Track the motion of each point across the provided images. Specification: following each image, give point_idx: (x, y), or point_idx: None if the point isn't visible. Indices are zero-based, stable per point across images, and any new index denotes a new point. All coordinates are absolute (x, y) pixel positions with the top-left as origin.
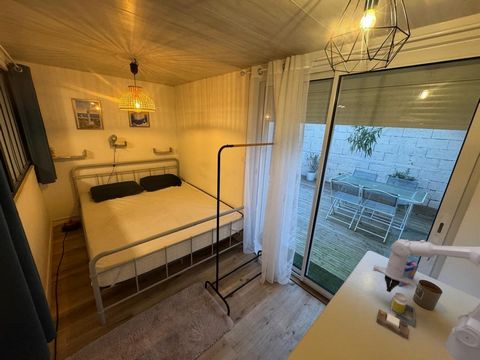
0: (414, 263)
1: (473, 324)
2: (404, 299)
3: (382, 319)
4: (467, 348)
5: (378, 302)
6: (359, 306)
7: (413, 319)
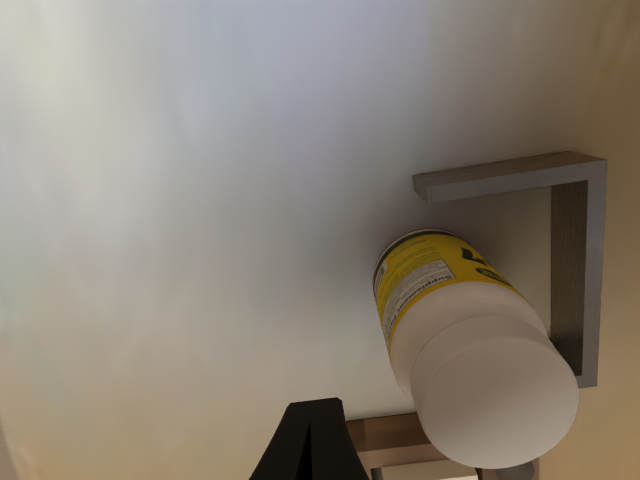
0: None
1: None
2: (548, 445)
3: None
4: None
5: (276, 304)
6: (188, 474)
7: (585, 358)
